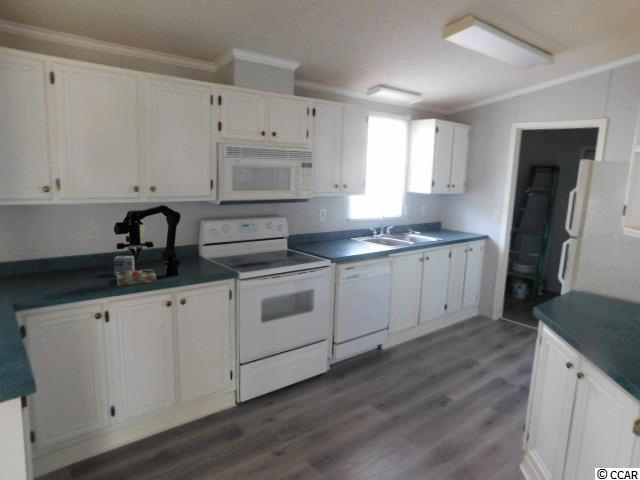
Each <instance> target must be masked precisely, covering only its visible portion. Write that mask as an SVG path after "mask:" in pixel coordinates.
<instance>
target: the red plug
mask: <svg viewBox="0 0 640 480" xmlns="http://www.w3.org/2000/svg"><path fill="white" fill-rule="evenodd" d="M136 271H137V272H133V277H137V276H140V272H138V271H139V270H136Z"/></svg>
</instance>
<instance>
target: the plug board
mask: <svg viewBox="0 0 640 480" xmlns="http://www.w3.org/2000/svg"><path fill="white" fill-rule="evenodd" d="M137 271H138V272H140V276H137V277H133V272H137ZM115 276H116V283H117V286H118V287H119V286H129V285H130V286H131V285H140V284H149V283H152V284H153V283H157V274H156V273H155V271H154V269H150V272H146V273H143V269H141V270H135V271H128V274H122V275H120V272H116V275H115Z"/></svg>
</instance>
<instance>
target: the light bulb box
mask: <svg viewBox="0 0 640 480" xmlns="http://www.w3.org/2000/svg"><path fill="white" fill-rule="evenodd" d="M113 271H114V273H113V275H114V276H116V272H121V271H136V269H135V259H134V256H133V255H116V256H115V257H114V258H113Z"/></svg>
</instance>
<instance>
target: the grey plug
mask: <svg viewBox="0 0 640 480" xmlns="http://www.w3.org/2000/svg"><path fill="white" fill-rule="evenodd" d="M142 270H143V273H146V272H150V270H151V269H150V268H145V269H142Z"/></svg>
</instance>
